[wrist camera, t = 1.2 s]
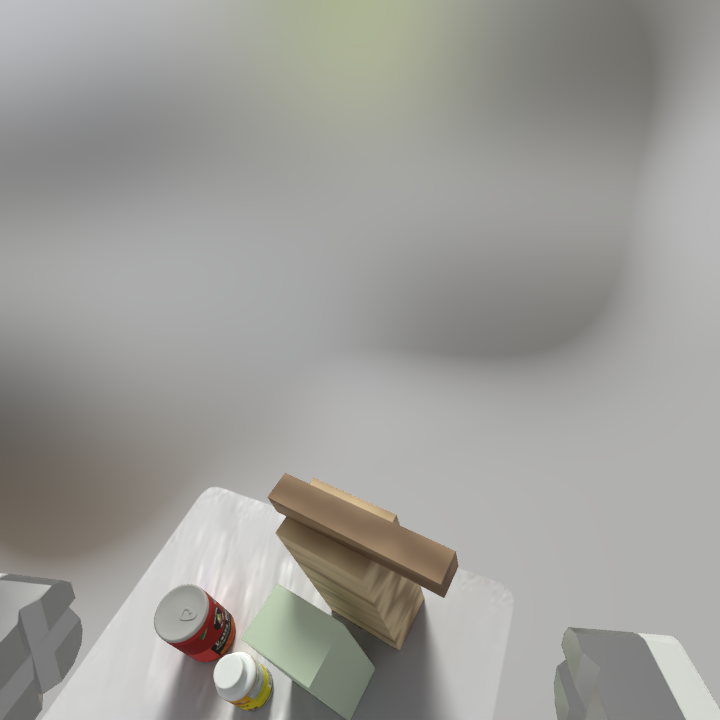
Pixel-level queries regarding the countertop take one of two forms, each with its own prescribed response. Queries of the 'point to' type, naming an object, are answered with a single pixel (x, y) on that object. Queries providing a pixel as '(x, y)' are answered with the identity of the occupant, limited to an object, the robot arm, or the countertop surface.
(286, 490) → the batten
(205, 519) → the countertop surface
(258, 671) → the supplement bottle
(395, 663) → the countertop surface
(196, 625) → the canned food
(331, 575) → the stand
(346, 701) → the block
